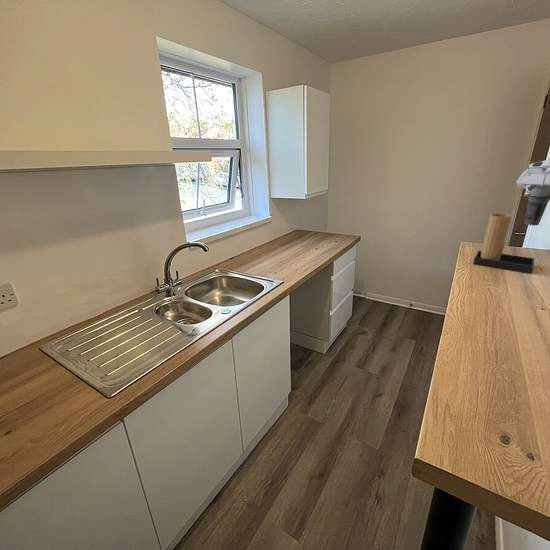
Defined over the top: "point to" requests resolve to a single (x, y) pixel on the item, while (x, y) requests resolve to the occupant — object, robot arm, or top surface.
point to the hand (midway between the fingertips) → (538, 196)
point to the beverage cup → (537, 204)
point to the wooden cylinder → (495, 236)
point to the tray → (507, 263)
